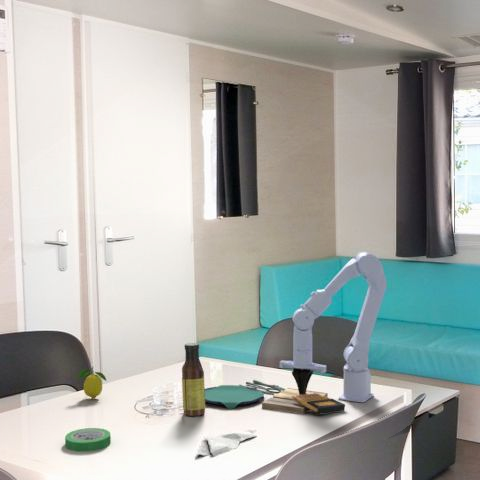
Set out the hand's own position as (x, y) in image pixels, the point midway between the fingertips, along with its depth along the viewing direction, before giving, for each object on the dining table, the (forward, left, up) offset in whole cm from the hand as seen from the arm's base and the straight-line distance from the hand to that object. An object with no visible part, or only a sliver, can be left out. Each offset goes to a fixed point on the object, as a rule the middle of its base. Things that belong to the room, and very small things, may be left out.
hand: (302, 393), depth 234 cm
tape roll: (+62, -31, -2) cm, 70 cm away
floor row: (+11, 0, -2) cm, 12 cm away
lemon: (+29, -56, -2) cm, 63 cm away
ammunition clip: (+11, +14, 0) cm, 18 cm away
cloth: (+46, -1, -2) cm, 46 cm away
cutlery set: (+6, -18, -2) cm, 19 cm away
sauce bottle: (+28, -21, -2) cm, 35 cm away
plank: (+2, 0, -1) cm, 2 cm away
